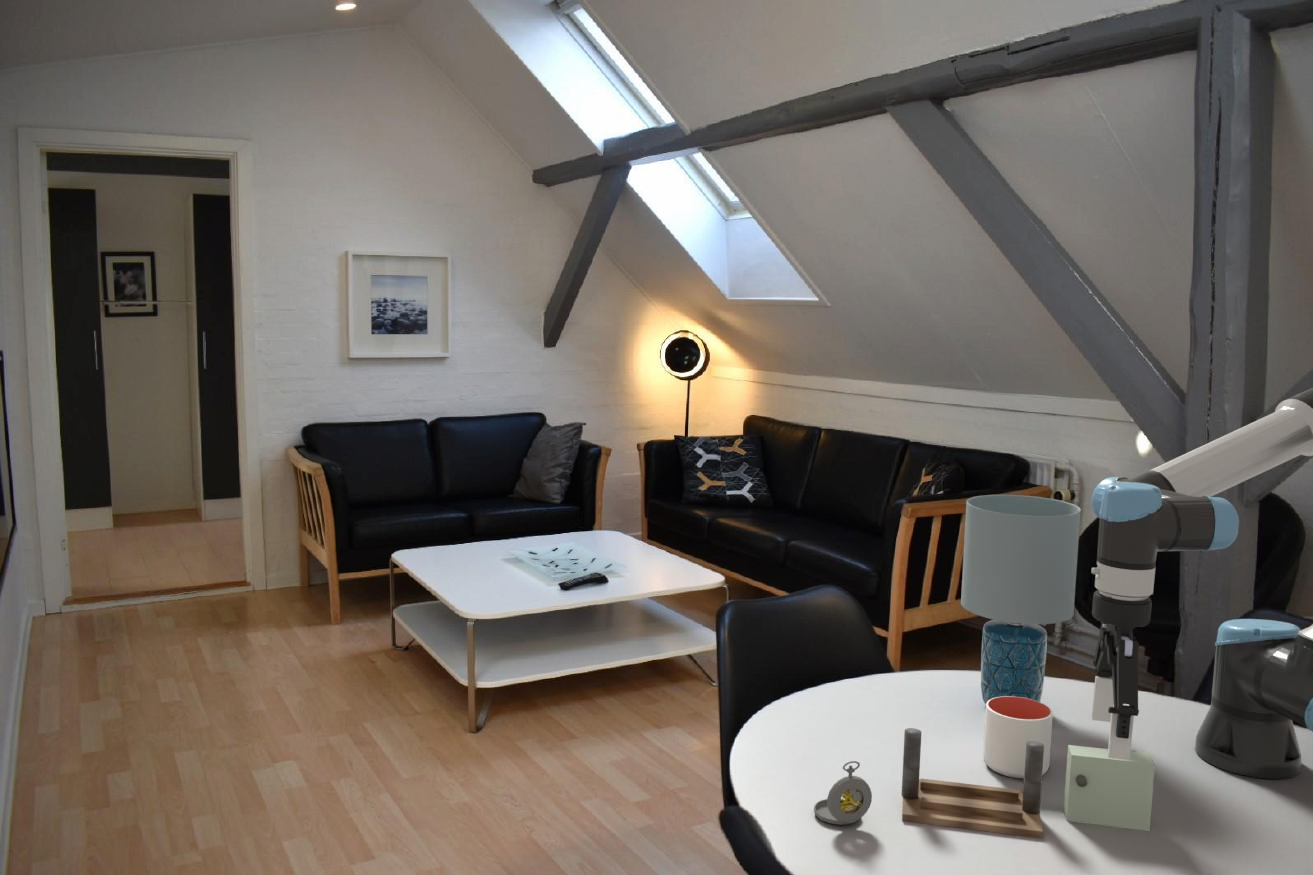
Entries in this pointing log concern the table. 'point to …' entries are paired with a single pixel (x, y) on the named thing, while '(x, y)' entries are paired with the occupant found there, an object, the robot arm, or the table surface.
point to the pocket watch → (846, 809)
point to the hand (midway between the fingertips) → (1109, 738)
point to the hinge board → (972, 796)
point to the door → (1108, 788)
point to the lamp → (1018, 584)
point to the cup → (1015, 733)
